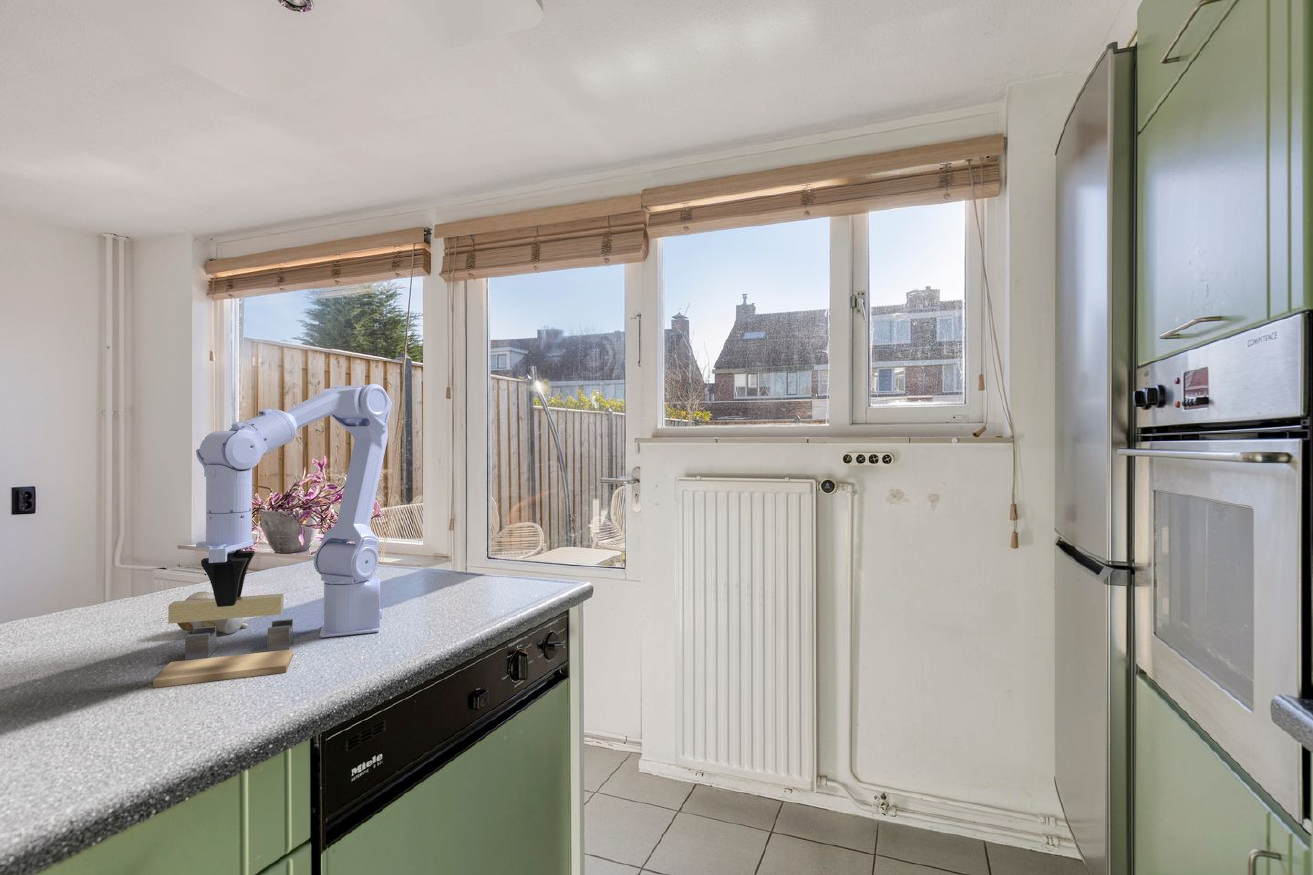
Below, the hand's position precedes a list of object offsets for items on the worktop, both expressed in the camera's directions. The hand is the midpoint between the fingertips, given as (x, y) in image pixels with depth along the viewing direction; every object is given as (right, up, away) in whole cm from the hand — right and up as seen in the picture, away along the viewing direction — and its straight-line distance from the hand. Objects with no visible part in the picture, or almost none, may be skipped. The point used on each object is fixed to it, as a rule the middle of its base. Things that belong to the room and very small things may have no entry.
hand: (228, 603), depth 97 cm
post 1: (-9, -10, +7) cm, 15 cm away
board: (0, -10, -1) cm, 10 cm away
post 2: (+2, -10, +11) cm, 15 cm away
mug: (-15, -10, +19) cm, 26 cm away
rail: (0, -2, 0) cm, 2 cm away
